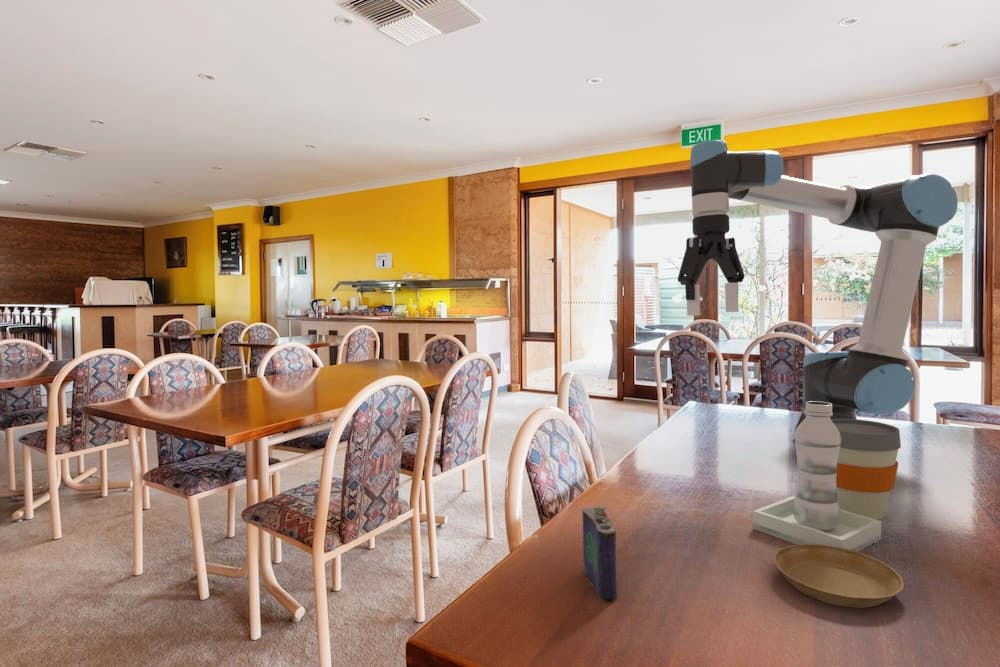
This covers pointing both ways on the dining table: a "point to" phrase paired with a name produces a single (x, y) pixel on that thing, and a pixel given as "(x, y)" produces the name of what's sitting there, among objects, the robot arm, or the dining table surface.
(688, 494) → the dining table surface
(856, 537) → the tray
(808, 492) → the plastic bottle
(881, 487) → the reusable coffee cup
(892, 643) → the dining table surface
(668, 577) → the dining table surface
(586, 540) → the flask
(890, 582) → the plant saucer
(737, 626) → the dining table surface
